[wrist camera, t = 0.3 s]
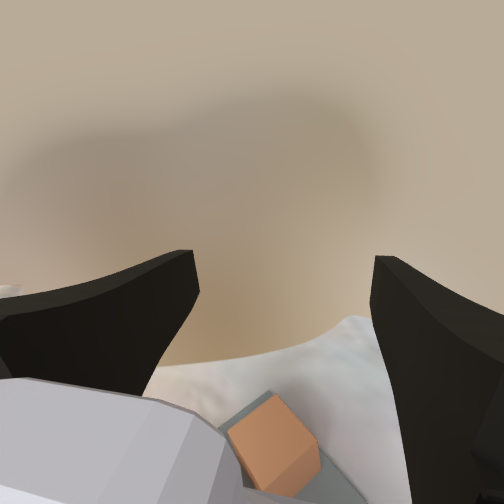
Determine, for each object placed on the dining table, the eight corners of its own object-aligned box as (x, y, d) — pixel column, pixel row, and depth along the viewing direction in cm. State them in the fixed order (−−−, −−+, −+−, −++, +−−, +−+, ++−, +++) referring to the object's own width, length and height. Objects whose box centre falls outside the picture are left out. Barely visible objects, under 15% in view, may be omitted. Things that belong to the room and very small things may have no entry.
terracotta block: (272, 518, 20) (262, 490, 18) (237, 458, 24) (226, 430, 22) (321, 469, 22) (317, 440, 20) (282, 421, 26) (275, 393, 24)
